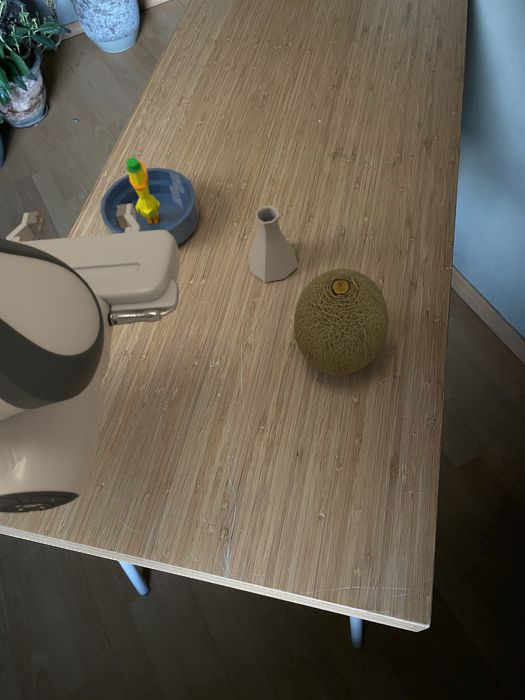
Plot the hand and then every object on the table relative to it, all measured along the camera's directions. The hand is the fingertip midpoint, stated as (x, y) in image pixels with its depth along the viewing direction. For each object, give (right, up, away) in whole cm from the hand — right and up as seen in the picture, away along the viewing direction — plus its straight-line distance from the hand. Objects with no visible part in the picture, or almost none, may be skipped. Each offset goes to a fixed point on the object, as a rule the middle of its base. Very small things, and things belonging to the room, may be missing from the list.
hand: (81, 212), depth 59 cm
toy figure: (+1, +6, +32) cm, 33 cm away
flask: (+20, -1, +27) cm, 33 cm away
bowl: (+1, +6, +33) cm, 33 cm away
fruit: (+28, -14, +18) cm, 36 cm away
